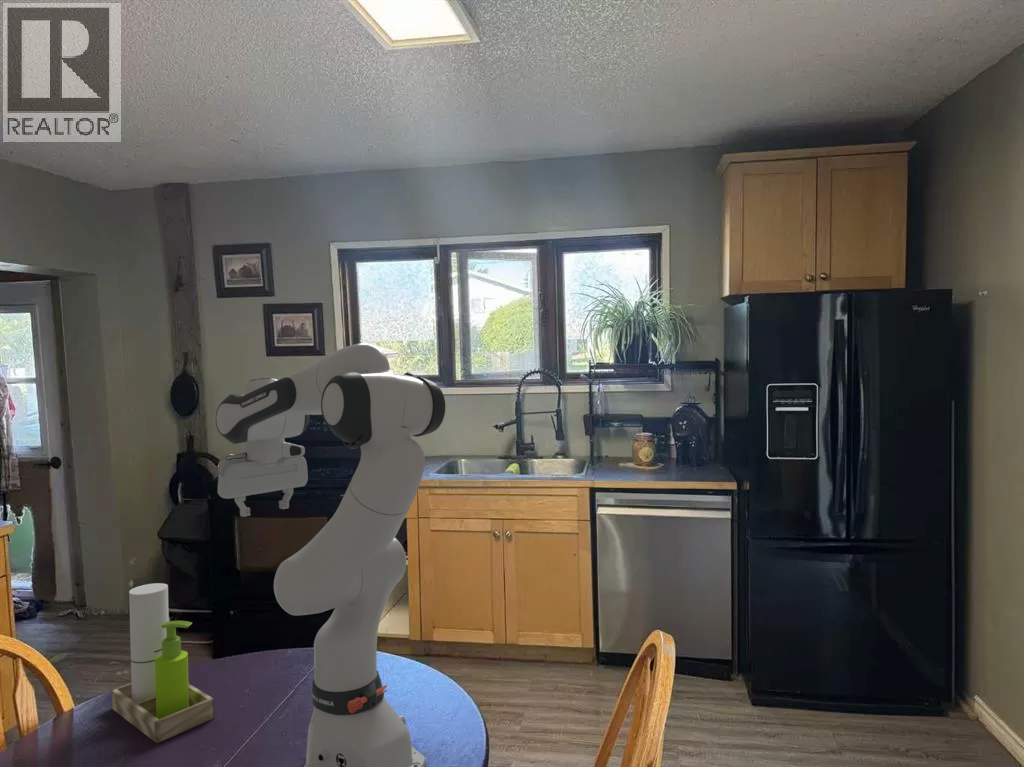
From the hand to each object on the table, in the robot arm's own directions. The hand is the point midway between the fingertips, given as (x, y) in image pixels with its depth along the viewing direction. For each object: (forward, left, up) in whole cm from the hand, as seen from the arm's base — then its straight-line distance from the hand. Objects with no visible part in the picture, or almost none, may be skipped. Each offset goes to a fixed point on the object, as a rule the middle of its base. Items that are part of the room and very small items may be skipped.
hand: (265, 512), depth 143 cm
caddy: (+7, +20, -39) cm, 44 cm away
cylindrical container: (+12, +20, -39) cm, 46 cm away
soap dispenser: (+2, +20, -39) cm, 44 cm away
